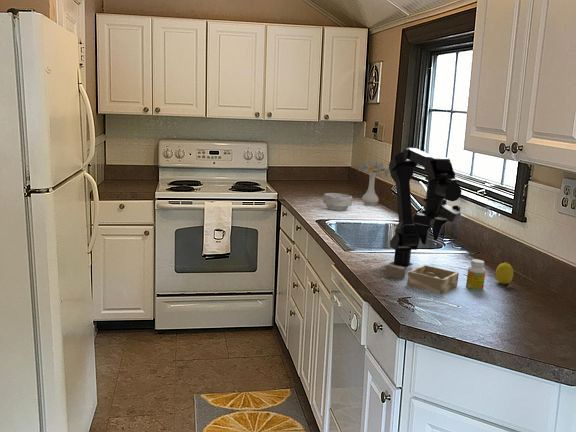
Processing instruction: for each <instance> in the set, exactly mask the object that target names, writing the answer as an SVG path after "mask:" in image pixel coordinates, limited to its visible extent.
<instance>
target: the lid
mask: <svg viewBox="0 0 576 432" xmlns="http://www.w3.org/2000/svg"><path fill="white" fill-rule="evenodd" d="M406 268H407V267H403V266H398V265H394V264H390V263H389V264H386V265H385V274H384V275H385V276H387V277H390V278H395V279H398V280H403V279H405V278H406V277H405V276H406Z"/></svg>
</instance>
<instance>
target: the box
mask: <svg viewBox="0 0 576 432" xmlns="http://www.w3.org/2000/svg"><path fill="white" fill-rule="evenodd" d="M428 272H433V273H434V274H435V276H436V277H439V278H436V277H432V276H428V275H426V273H428ZM459 275H460V272H457V271H454V270H449V269H444V268H440V267H437V266H436V267H435V266H431V265H428V264H423V265H421V266H418V267H416V268H413V269H411V270H408V272H407V281H406V283H407V284H406V285H407V286H409V287H414V288H419V289H422V290H425V291H429V292H434V293H436V294H440V295H443V294H445V293H447V292H448V291H451V290H452V289H454V288H456V287H457V286H458V283H459Z"/></svg>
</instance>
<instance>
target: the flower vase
mask: <svg viewBox="0 0 576 432" xmlns="http://www.w3.org/2000/svg"><path fill="white" fill-rule="evenodd" d="M383 166H384V162H380V163H379V162H378V161H374V162H372V163H371V161H370V160H368V161H366V160H363V161H362V165H360V166H358V171H357V172H360V171H362V170H363V171H364V173H365V174H369V175H368V176H369V177H368V178H369V183H368V188H367V190H366V192H365V194H363V195H362V198H361V201H362V203H364V204H363V205H365V206H367V207H375V206H376V204H378V202H379V197H378V195H377V194H376V190H375V182H376V181H375V179H376V176H377V173H378V174H380V175H381V174H382V175H384V176H385V177H386V179H388V178H389V174H390V170H389V167H388V168H385V167H383Z"/></svg>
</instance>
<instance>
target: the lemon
mask: <svg viewBox="0 0 576 432" xmlns="http://www.w3.org/2000/svg"><path fill="white" fill-rule="evenodd" d="M513 277H514V268H513V266H512V265H511V264H510V263H508V262H507V261H505V262H502V263H500V264H499V265H498V266H497V267H496V269H495V279H496V280H497V282H498V283H500V284H501V285H506V284H509V283H510V282H512V280H513Z"/></svg>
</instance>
